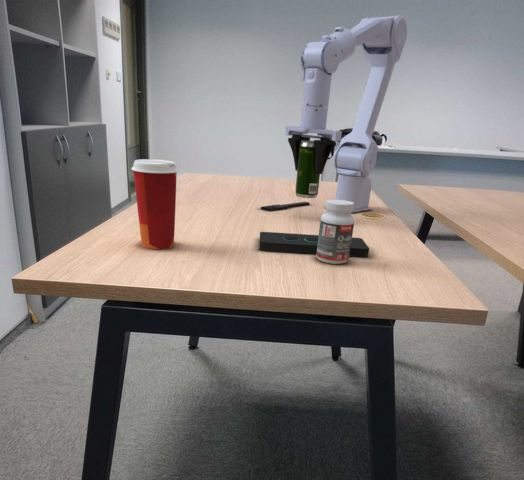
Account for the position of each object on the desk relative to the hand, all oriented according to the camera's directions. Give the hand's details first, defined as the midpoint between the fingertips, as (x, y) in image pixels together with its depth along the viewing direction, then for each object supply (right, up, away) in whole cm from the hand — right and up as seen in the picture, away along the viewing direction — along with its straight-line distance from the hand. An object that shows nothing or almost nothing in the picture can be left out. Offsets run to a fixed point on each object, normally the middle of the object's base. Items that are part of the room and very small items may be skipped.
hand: (308, 172), depth 109 cm
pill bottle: (+2, -26, -26) cm, 37 cm away
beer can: (0, -5, +3) cm, 6 cm away
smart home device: (-1, -22, -20) cm, 30 cm away
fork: (-5, -4, +15) cm, 16 cm away
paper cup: (-30, -23, -25) cm, 45 cm away
